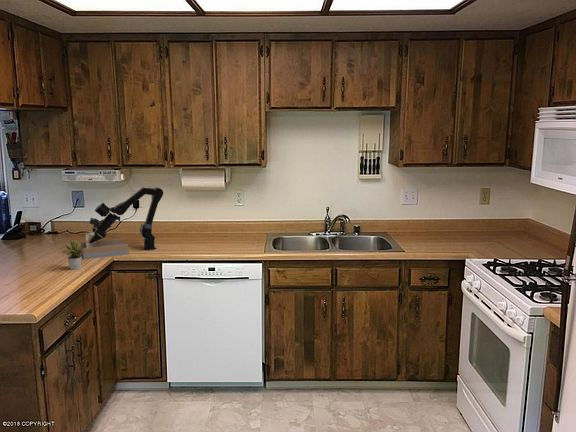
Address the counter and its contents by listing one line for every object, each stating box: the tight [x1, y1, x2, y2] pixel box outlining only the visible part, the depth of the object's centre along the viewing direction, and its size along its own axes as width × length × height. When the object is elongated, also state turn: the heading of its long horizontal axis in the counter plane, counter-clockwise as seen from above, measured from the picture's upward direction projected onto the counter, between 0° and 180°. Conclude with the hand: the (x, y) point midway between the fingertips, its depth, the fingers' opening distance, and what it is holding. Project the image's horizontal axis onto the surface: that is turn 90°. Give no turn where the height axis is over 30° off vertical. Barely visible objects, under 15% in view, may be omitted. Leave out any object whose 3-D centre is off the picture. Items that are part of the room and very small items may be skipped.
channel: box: [80, 238, 130, 260], centre depth 295 cm, size 25×18×6 cm
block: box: [85, 231, 96, 248], centre depth 291 cm, size 5×5×10 cm
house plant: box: [59, 238, 85, 271], centre depth 263 cm, size 14×14×16 cm
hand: (89, 241), depth 291 cm, fingers open, 9 cm apart
